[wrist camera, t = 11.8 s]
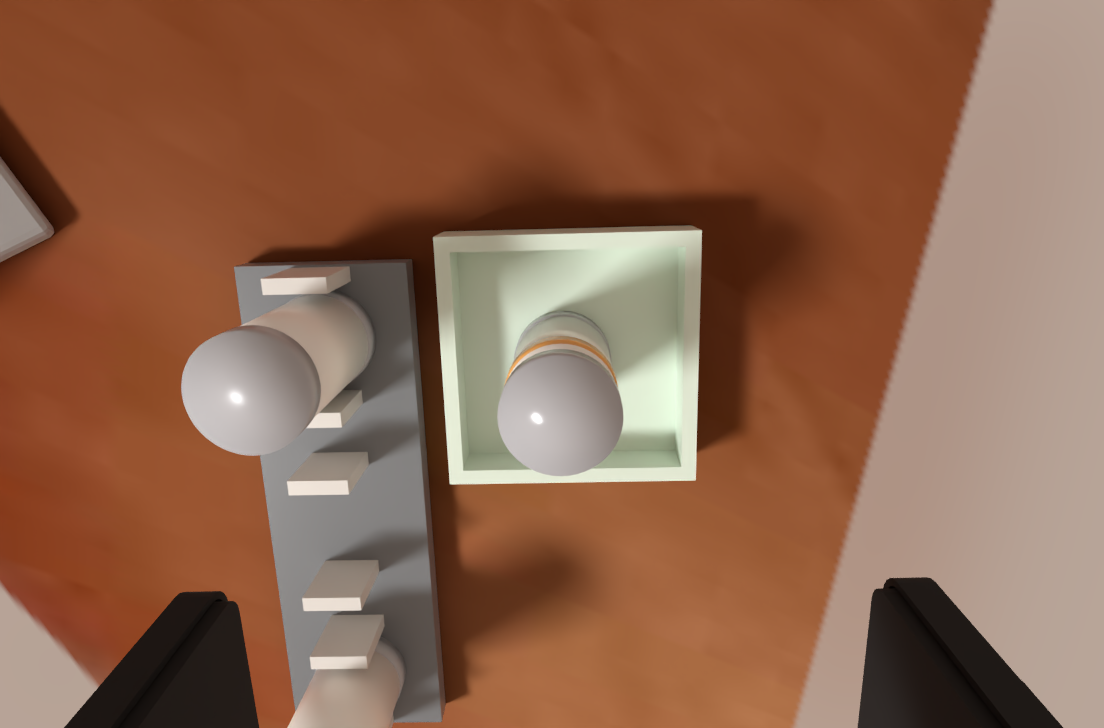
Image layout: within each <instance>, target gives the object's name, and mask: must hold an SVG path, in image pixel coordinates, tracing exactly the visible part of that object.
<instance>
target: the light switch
mask: <svg viewBox="0 0 1104 728" xmlns="http://www.w3.org/2000/svg"><path fill="white" fill-rule="evenodd" d="M53 234H54V229H53V226H52V225H51V224H50V222H49V221H48V220H47V218H46V217H45V216H44V214H43V213H42V212H41V210H40V209H39V208H38V206H37V205H36V204H35V202H34V201H33V200H32V198H31V197H30V196H29V194H28V193H27V192H26V190H25V189H24V188H23V186H22V185H21V184H20V182H19V181H18V180H17V178H16V177H15V176H14V174H13V173H12V172H11V170H10V169H9V168H8V166H7V165H6V164H5V162H4V161H3V160H2V158H1V157H0V262H2V261H4V260H6V259H8V258H10V257H12V256H14V255H16V254H18V253H20V252H22V251H24V250H26V249H28V248H30V247H32V246H34V245H36V244H38V243H40V242H42V241H44V240H46V239H48V238H50V237H51V236H52V235H53Z"/></svg>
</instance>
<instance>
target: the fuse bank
mask: <svg viewBox="0 0 1104 728" xmlns="http://www.w3.org/2000/svg"><path fill="white" fill-rule="evenodd" d="M234 271H235V278H236V285H237V292H238V299H239V307H240V314H241V321H242V325H241V326H239V327H235V328H232V329H230V330H227V331H225V332H223V333H221V334H219V335H217V336H215V337H213V338H211V339H209V340H207V341H205V342H204V343H203V344H201V345H200V346H199V347H198V348H197V349H196V350H195V351H194V352H193V354H192V355H191V356H190V358H189V360H188V362H187V364H186V366H185V369H184V372H183V376H182V386H181V389H182V398H183V402H184V406H185V408H186V411H187V413H188V415H189V417H190V419H191V421H192V422H193V424H194V425H195V426H196V428H197V429H198V430H199V431H200V432H201V433H202V434H203V435H204V436H205V437H206V438H207V439H208V440H210V441H211V442H213V443H214V444H216V445H217V446H219V447H221V448H223V449H225V450H228V451H230V452H234V453H237V454H242V455H254V456H255V455H260V458H261V466H262V473H263V480H264V487H265V494H266V502H267V509H268V516H269V523H270V531H271V538H272V545H273V552H274V559H275V567H276V574H277V581H278V588H279V596H280V603H281V610H282V617H283V624H284V632H285V639H286V646H287V653H288V661H289V668H290V675H291V682H292V689H293V697H294V704H295V711H296V712H295V714H294V716H293V718H292V720H291V722H290V724H289V726H288V728H392V725H393V722H442V718H443V714H444V710H445V705H446V701H445V688H444V675H443V662H442V649H441V636H440V622H439V609H438V596H437V583H436V570H435V556H434V543H433V530H432V517H431V504H430V490H429V477H428V464H427V451H426V438H425V424H424V411H423V398H422V385H421V372H420V358H419V345H418V332H417V319H416V306H415V292H414V279H413V266H412V259H390V260H349V261H309V262H268V263H245V264H242V265H238V266H235V267H234Z"/></svg>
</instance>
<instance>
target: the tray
mask: <svg viewBox="0 0 1104 728" xmlns="http://www.w3.org/2000/svg"><path fill="white" fill-rule="evenodd" d="M433 246H434V260H435V275H436V290H437V304H438V319H439V334H440V349H441V363H442V378H443V393H444V408H445V422H446V437H447V452H448V466H449V481H450V484H505V483H566V482H628V481H689V480H696V448H697V409H698V370H699V331H700V292H701V253H702V230H700V229H698V228H696V227H694V226H692V225H678V226H639V227H600V228H561V229H521V230H482V231H444V232H442V233H440V234H438V235H436V236H434V237H433ZM554 311H571V312H576V313H579V314H582V315H584V316H586V317H588V318H589V319H591V320H592V321H593V322H594V323H596V324H597V325H598V327H599V328H600V329H601V330H602V332H603V333H604V335H605V337H606V339H607V342H608V345H609V349H610V354H611V364H612V368H613V370H614V373H615V376H616V380H617V384H618V389H619V393H620V397H621V401H622V407H623V427H622V431H621V435H620V437H619V440H618V442H617V444H616V446H615V447H614V449H613V450H612V452H611V453H610V454H609V455H608V456H607V457H606V458H605V459H604V460H603V461H602V462H601V463H599V464H598V465H597V466H595V467H593V468H592V469H590V470H587V471H585V472H582V473H579V474H576V475H570V476H551V475H546V474H542V473H539V472H536V471H534V470H532V469H530V468H528V467H526V466H525V465H523V464H522V463H521V462H519V461H518V460H517V459H516V458H515V457H514V456H513V455H512V454H511V453H510V451H509V450H508V448H507V447H506V445H505V443H504V442H503V440H502V437H501V434H500V431H499V427H498V419H497V415H498V405H499V401H500V398H501V394H502V391H503V388H504V385H505V382H506V378H507V375H508V372H509V369H510V367H511V365H512V363H513V360H514V354H515V350H516V347H517V343H518V340H519V338H520V336H521V334H522V333H523V331H524V329H525V328H526V327H527V326H528V325H529V324H530V323H531V322H532V321H533V320H535V319H536V318H538V317H540V316H542V315H544V314H546V313H549V312H554Z"/></svg>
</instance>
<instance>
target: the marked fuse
mask: <svg viewBox="0 0 1104 728" xmlns="http://www.w3.org/2000/svg"><path fill="white" fill-rule="evenodd" d="M497 419H498V427H499V431H500V434H501V437H502V440H503V442H504V443H505V445H506V447H507V448H508V450H509V451H510V453H511V454H512V455H513V456H514V457H515V458H516V459H517V460H518V461H519V462H521V463H522V464H523V465H525V466H526V467H528V468H530V469H532V470H534V471H536V472H539V473H542V474H546V475H551V476H570V475H576V474H579V473H582V472H585V471H587V470H590V469H592V468H593V467H595V466H597V465H598V464H599V463H601V462H602V461H603V460H604V459H605V458H606V457H607V456H608V455H609V454H610V453H611V452H612V450H613V449H614V447H615V446H616V444H617V442H618V440H619V437H620V435H621V431H622V427H623V407H622V401H621V397H620V393H619V389H618V384H617V380H616V376H615V373H614V370H613V368H612V364H611V354H610V349H609V345H608V342H607V339H606V337H605V335H604V333H603V332H602V330H601V329H600V328H599V327H598V325H597V324H596V323H594V322H593V321H592V320H591V319H589V318H588V317H586V316H584V315H582V314H579V313H576V312H571V311H554V312H549V313H546V314H544V315H542V316H540V317H538V318H536V319H535V320H533V321H532V322H531V323H530V324H529V325H528V326H527V327H526V328H525V329H524V331H523V333H522V334H521V336H520V338H519V340H518V343H517V347H516V350H515V354H514V360H513V363H512V365H511V367H510V369H509V372H508V375H507V378H506V382H505V385H504V388H503V391H502V394H501V398H500V401H499V405H498V415H497Z"/></svg>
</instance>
